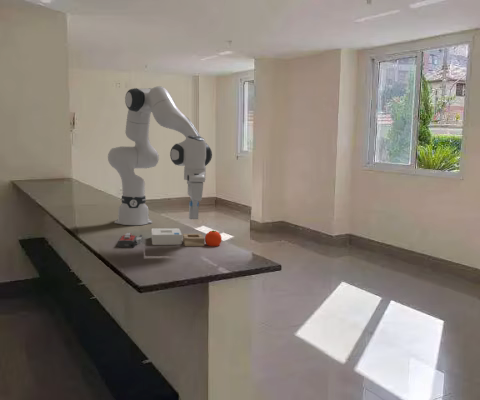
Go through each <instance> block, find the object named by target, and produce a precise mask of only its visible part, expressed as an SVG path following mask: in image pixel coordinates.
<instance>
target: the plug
mask: <svg viewBox="0 0 480 400" xmlns="http://www.w3.org/2000/svg"><path fill="white" fill-rule="evenodd" d="M199 203H200V201H198V203H197V210H193V209H192V201H191V200H189V203H188V204H189V207H188V208H189V209H188V219H189V220H199V211H200V210H199V207H200V206H199Z"/></svg>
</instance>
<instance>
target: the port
mask: <svg viewBox="0 0 480 400" xmlns="http://www.w3.org/2000/svg"><path fill="white" fill-rule="evenodd" d="M150 234H151V235H150V238H151V244H152V245H154V246H155V245H156V246H157V245H161V246H163V245H166V246H167V245H168V246H169V245H175V246H176V245H182V243H183V233H182V231H181V230H180V228H179V227H178V228H176V227H175V228H164V227H163V228H162V227H161V228H160V227H158V228H156V227H155V228H153V227H152V228H151V233H150Z"/></svg>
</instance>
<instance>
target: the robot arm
mask: <svg viewBox="0 0 480 400" xmlns="http://www.w3.org/2000/svg"><path fill="white" fill-rule="evenodd" d="M124 100H125V101H124V102H125V103H124V104H125V106H126V108H127V109H128V110H127V115H126V125H125V130H124V132H125V133H124V134H125V135H126V138H128V139H129V140H130V141H132V142H134V146H115V147H112V148H111V149H110V150H109V152H108V154H107V161H108V163H109V165H110V166H111V167H112V168H113V169H115V170H116V172H117V173H118V174H119V176H120V179H121V188H122V195H121V204H120V205H119V206H118V208H117V209H118V215H117V216H118V217H117V219H115V220H114V224H118V225H123V226H141V225H142V226H143V225H148V224H153V220H152V219H150V218H149V216H150V215H149V207H148V205H147V204H146V201H147V200H146V199H147V197H146V194H145V193H146V187H145V186H146V183H145V180H144V178H142V177H141V176H140V175H137V174H136V173H135V169H150V168H151V169H152V168H155V167H156V166H157V165H158V163H159V160H160V157H159V156H160V155H159V152H158V151H157V150H156V148H155V147H154V146H153V145H152V144H151V142H150V137H149V134H150V122H151V114H152V116H153V118H154V120H155V121H156V123H157V124H158V125H159V126H161V127H163V128H166V129H170V130H173V131H175V132H178V133H179V134H182V135H183V136H184V137H185V139H184V140H183V141H181V142H178V143H175V144H173V146H172V147H171V149H170V152H169V156H170V159H171V162H172V163H173V164H174V165H175V166H181V167H184V169H183V180H184V181H186V184H187V195H188V196H189V197H190V201H192V209H193V210H197V203H198V202H201V201H202V198H203V190H204V183H205V182H206V174H207V173H206V169H207V167H206V166H208V165H209V163H210V162H211V160H212V157H213V152H212V149H211V147H210V146H209V144H208V143H207V142H206V140H205V138H204V137H202V136H201V134H200V133H199V131H198V130H197V128H196V127H195V126H194V124H193V122H192V121H191V119H189V117H187V115H185V114H184V113H183V112H182V111H181V110H180V108H178V105H177V104H176V102H175V100H174V98H173V96H172V95H171V92H169V90H167V88H166V87H164V86H160V85H159V86H154V87H149V88H137V87H134V88H130V89H128V90H127V92H126V94H125V97H124Z"/></svg>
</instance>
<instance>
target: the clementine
mask: <svg viewBox="0 0 480 400" xmlns="http://www.w3.org/2000/svg"><path fill="white" fill-rule="evenodd" d="M204 238H205V239H204V243H206V245H207V246H209V247H218V246H220V245H221V244H222V235H221V234H220V232H219V231H216V230H213V229H212V230H210V231H208V232H207V233H206V234H205V237H204Z"/></svg>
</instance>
